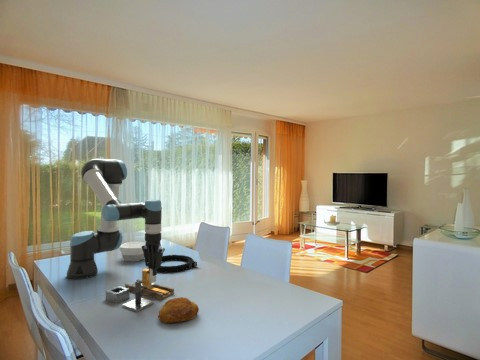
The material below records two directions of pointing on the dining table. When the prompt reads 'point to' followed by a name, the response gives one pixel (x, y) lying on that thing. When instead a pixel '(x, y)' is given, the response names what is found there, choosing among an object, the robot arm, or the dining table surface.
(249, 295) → the dining table surface
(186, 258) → the cable lock
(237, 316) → the dining table surface
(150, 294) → the rail
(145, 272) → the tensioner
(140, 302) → the square plate with peg
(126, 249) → the bowl
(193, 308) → the croissant
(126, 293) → the square hollow frame
